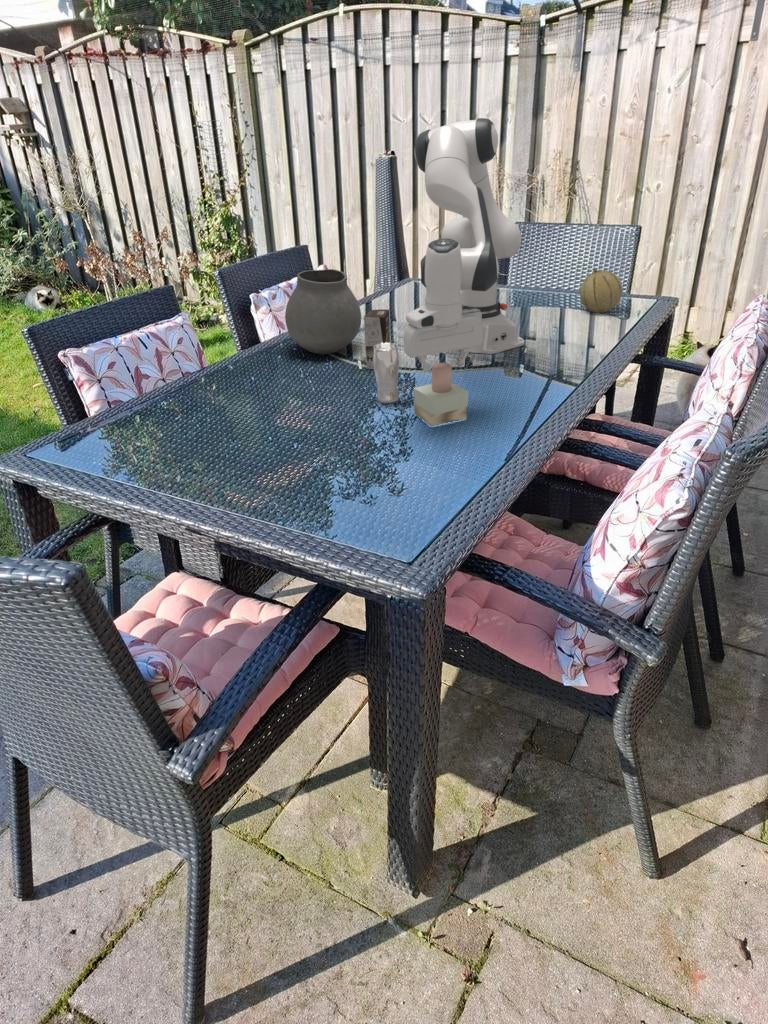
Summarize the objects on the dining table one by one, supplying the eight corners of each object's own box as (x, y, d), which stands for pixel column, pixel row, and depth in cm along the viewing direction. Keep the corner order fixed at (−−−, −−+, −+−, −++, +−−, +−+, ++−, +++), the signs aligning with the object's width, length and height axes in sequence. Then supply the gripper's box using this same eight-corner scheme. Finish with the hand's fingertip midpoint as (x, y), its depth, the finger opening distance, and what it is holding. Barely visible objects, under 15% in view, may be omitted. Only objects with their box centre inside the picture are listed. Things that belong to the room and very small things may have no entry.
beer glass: (403, 395, 194) (402, 343, 187) (395, 405, 189) (393, 351, 181) (380, 393, 196) (377, 341, 189) (371, 403, 191) (368, 349, 183)
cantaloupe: (624, 316, 250) (630, 273, 243) (583, 318, 251) (587, 275, 243) (613, 305, 263) (618, 264, 255) (574, 307, 264) (577, 266, 256)
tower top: (446, 394, 184) (446, 379, 182) (467, 406, 176) (468, 391, 174) (413, 402, 180) (413, 388, 178) (434, 415, 173) (434, 400, 171)
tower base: (448, 408, 186) (448, 394, 184) (466, 421, 178) (466, 407, 176) (414, 415, 183) (414, 401, 181) (431, 429, 175) (431, 414, 173)
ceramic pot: (318, 368, 217) (310, 286, 205) (275, 351, 233) (265, 274, 221) (377, 349, 231) (374, 271, 218) (333, 335, 247) (326, 261, 234)
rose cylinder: (445, 383, 179) (445, 361, 176) (455, 390, 175) (455, 367, 172) (428, 387, 178) (428, 365, 175) (437, 394, 174) (437, 371, 171)
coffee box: (386, 369, 213) (384, 317, 205) (366, 369, 214) (362, 316, 206) (392, 360, 221) (390, 308, 213) (372, 359, 222) (369, 308, 214)
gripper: (475, 303, 173) (474, 357, 180) (399, 315, 166) (401, 371, 173) (488, 309, 167) (486, 364, 175) (410, 322, 161) (412, 379, 168)
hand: (443, 368), depth 174 cm, fingers open, 8 cm apart
